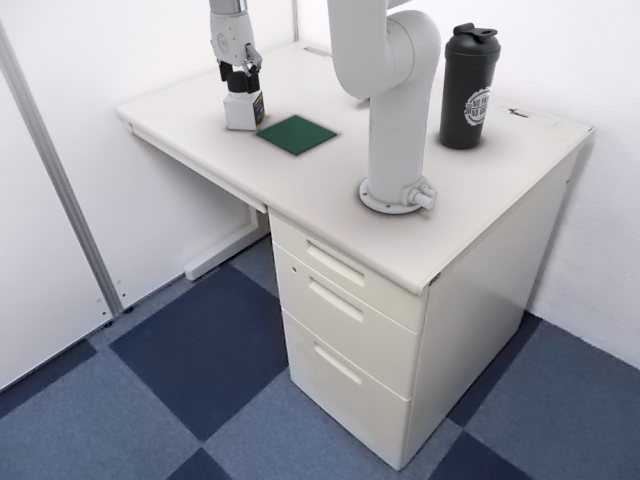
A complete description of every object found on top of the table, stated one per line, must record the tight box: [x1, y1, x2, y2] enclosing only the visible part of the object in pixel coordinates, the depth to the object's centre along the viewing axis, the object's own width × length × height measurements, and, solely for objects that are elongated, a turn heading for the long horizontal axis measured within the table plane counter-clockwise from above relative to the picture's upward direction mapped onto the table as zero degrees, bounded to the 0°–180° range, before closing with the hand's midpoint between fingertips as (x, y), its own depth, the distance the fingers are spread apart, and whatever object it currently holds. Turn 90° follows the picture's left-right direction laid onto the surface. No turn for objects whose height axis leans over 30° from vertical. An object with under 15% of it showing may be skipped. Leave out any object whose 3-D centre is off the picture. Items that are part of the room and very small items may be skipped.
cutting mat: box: [255, 114, 338, 156], centre depth 111 cm, size 14×12×1 cm
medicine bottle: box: [222, 69, 266, 131], centre depth 112 cm, size 7×7×12 cm
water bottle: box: [438, 22, 502, 151], centre depth 98 cm, size 10×10×23 cm
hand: (240, 85), depth 111 cm, fingers open, 9 cm apart
